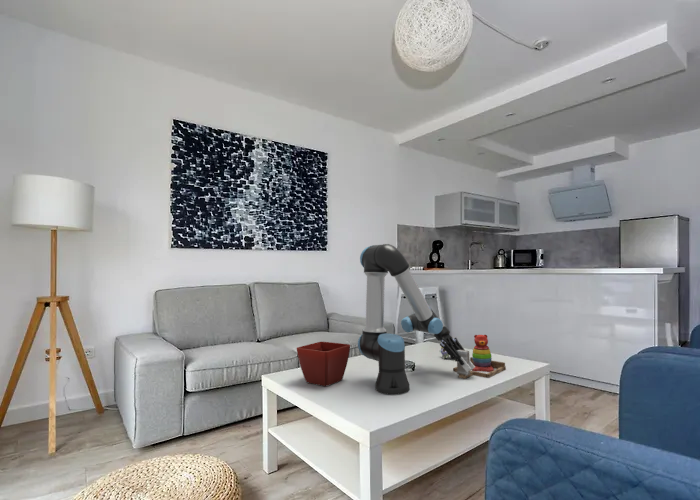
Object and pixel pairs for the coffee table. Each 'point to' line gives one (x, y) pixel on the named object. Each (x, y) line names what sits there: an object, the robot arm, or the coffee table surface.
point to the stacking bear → (482, 354)
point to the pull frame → (465, 355)
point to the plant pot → (323, 362)
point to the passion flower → (444, 353)
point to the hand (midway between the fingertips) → (471, 369)
